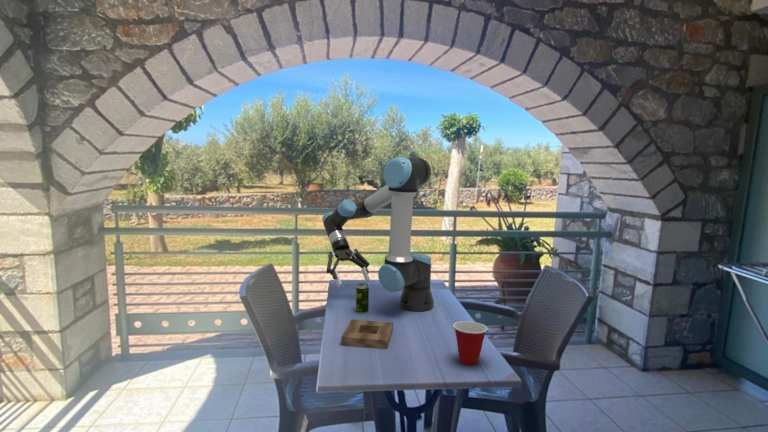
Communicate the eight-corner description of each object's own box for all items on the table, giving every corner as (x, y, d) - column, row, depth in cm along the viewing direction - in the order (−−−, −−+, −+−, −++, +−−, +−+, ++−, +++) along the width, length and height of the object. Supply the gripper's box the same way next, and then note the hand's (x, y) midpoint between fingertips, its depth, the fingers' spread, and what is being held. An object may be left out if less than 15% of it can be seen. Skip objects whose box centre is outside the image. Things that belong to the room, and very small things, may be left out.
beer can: (361, 308, 179) (362, 281, 178) (371, 311, 176) (371, 284, 174) (353, 312, 175) (353, 284, 174) (362, 315, 172) (362, 287, 170)
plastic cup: (487, 356, 138) (489, 321, 136) (484, 371, 127) (486, 334, 126) (454, 350, 141) (456, 317, 139) (448, 365, 131) (450, 329, 129)
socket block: (393, 329, 158) (393, 322, 157) (387, 348, 142) (387, 340, 142) (351, 326, 160) (351, 319, 160) (341, 345, 144) (341, 336, 144)
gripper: (360, 244, 199) (376, 283, 188) (311, 250, 186) (324, 292, 175) (366, 235, 194) (382, 274, 183) (315, 240, 181) (330, 283, 170)
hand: (354, 283), depth 179 cm, fingers open, 13 cm apart
